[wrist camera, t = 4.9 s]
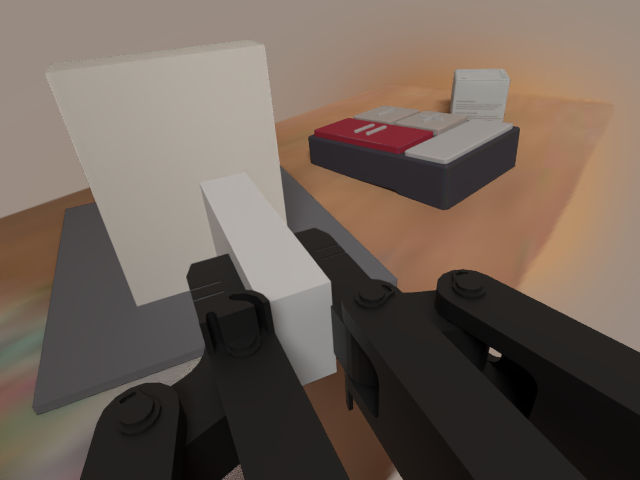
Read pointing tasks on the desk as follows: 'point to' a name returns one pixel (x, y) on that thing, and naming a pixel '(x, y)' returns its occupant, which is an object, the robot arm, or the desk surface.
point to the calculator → (417, 152)
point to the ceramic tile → (168, 148)
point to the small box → (480, 93)
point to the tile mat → (136, 307)
